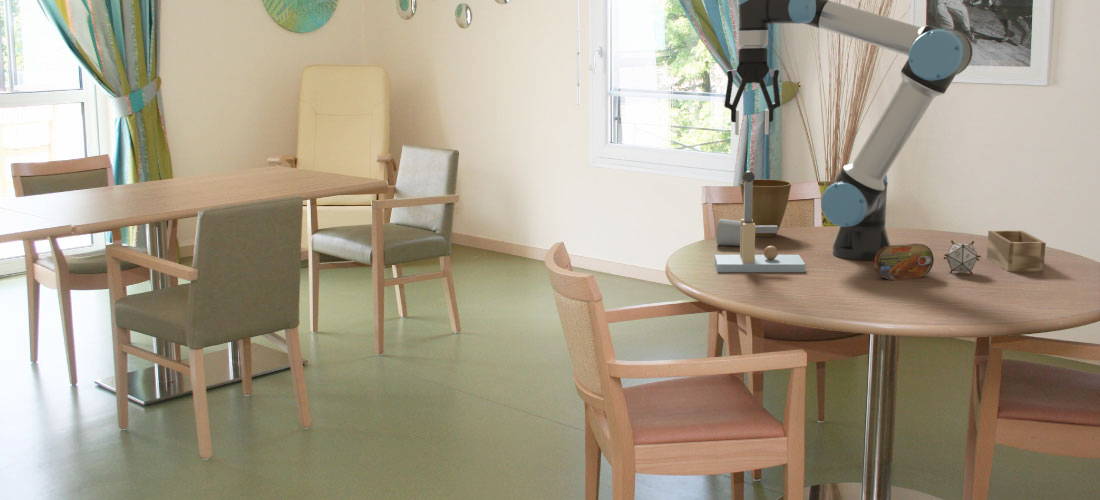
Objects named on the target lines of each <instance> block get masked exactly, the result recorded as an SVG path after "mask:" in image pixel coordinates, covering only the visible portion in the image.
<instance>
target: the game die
mask: <svg viewBox="0 0 1100 500" xmlns="http://www.w3.org/2000/svg"><path fill="white" fill-rule="evenodd" d="M950 242H951V246H950V248H949V250H948V252H947V253H945V254H944V257H943V259H944V260H946V261H947V263H948V265H949V268H950V271H949V274H952V273H953V272H963V273H965V272H966V273H967V272H968V273H970V275H973V274H974V273H973V269H974V267H975V264H976V263H977V261H980V258H981V257H982V256H981V255H978V254H977V251H976V249H975V247H974V244H975V240H972V241H971V242H969V243H968V242H967V243H966V242H965V243H964V242H954V241H953V239H951V240H950Z"/></svg>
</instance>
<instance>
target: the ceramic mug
mask: <svg viewBox="0 0 1100 500" xmlns="http://www.w3.org/2000/svg"><path fill="white" fill-rule="evenodd" d="M740 229H741V220H736V219H728V218H726V219H725V218H719V220H718V221H717V227H716V237H715V238H716V239H715V241H716V245H717V246H724V247H725V246H727V247H728V246H729V247H740Z"/></svg>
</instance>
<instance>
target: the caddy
mask: <svg viewBox="0 0 1100 500" xmlns="http://www.w3.org/2000/svg"><path fill="white" fill-rule="evenodd" d="M987 234H988V235H987V249H986V258H987V259H988V260H990V261H992V262H993V263H995V264H996V265H997V266H999V267H1000V268H1001V269H1003V270H1005V271H1007V272H1044V271H1045V270H1044V269H1045V268H1044V267H1045V266H1044V265H1045V255H1046V244H1047V243H1046V242H1044V241H1043V240H1041V239H1039V238H1037V237H1035V236H1033V235H1032V234H1030V233H1028V232H1026V231H1025V230H988V233H987Z"/></svg>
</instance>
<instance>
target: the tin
mask: <svg viewBox="0 0 1100 500" xmlns="http://www.w3.org/2000/svg"><path fill="white" fill-rule="evenodd" d="M934 260H935V258H934V253H933V251H932V250H931V248H930V247H928V245H926V244H924V243H923V244H922V243H906V244H896V245H893V244H892V245H890V246H885V247H883V248H881V249H880V250H879V251H878V252H877V254H876V255H875V259H874V261H873V266H874V270H875V272H876V274H877V275H878V276H880V277H881V278H883V279H886V280H888V281H897V280H906V279H907V280H908V279H919V278H923V277H925V276H927V275H928V274H929V273H930V271H931V270H932V268H933V266H934V263H935V262H934Z"/></svg>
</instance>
